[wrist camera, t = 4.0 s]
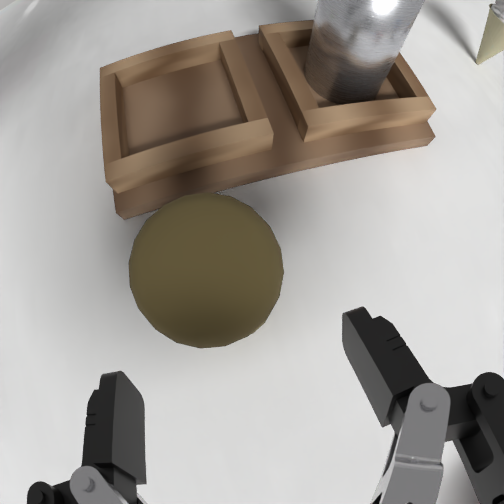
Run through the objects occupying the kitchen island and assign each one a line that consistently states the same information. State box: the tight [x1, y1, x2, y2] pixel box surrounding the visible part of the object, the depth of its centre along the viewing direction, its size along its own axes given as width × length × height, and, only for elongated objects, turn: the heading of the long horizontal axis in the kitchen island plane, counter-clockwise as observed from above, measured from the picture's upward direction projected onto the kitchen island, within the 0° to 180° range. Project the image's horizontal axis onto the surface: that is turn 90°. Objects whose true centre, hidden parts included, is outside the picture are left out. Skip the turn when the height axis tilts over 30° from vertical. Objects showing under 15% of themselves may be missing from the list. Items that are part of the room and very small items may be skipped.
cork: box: [129, 192, 284, 348], centre depth 15 cm, size 6×6×11 cm
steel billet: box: [304, 0, 424, 105], centre depth 16 cm, size 6×6×11 cm
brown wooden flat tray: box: [100, 20, 436, 220], centre depth 21 cm, size 24×13×4 cm, turn 106°
